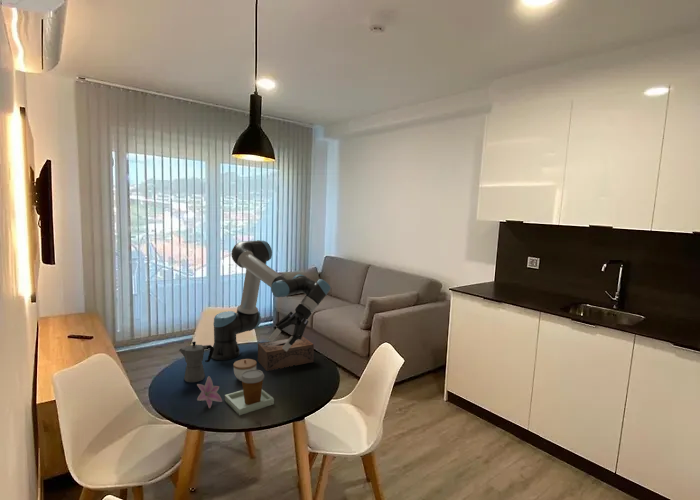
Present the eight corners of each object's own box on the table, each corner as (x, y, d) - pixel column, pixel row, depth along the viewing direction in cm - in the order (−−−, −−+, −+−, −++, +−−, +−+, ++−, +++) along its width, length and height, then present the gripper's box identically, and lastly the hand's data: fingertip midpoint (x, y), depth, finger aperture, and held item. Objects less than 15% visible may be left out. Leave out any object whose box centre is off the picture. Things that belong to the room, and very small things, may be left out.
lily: (192, 415, 156) (202, 396, 154) (185, 393, 164) (195, 375, 162) (219, 414, 164) (229, 396, 162) (211, 393, 172) (221, 376, 170)
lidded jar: (228, 380, 185) (228, 361, 184) (244, 372, 195) (244, 354, 194) (246, 385, 180) (245, 365, 179) (261, 376, 190) (261, 358, 189)
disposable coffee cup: (249, 409, 156) (249, 380, 155) (236, 401, 162) (235, 374, 161) (269, 401, 163) (269, 373, 162) (255, 394, 170) (255, 367, 168)
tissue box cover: (302, 353, 222) (302, 336, 221) (313, 362, 210) (313, 344, 209) (257, 361, 209) (257, 343, 208) (266, 371, 197) (266, 352, 196)
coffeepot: (178, 384, 180) (178, 346, 178) (180, 376, 189) (179, 339, 187) (214, 380, 185) (213, 343, 183) (214, 372, 194) (213, 336, 192)
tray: (224, 400, 165) (224, 395, 165) (257, 391, 175) (257, 385, 175) (239, 415, 154) (239, 409, 154) (273, 404, 163) (273, 398, 163)
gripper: (325, 319, 177) (295, 358, 170) (297, 306, 197) (269, 341, 189) (315, 309, 173) (285, 349, 166) (288, 297, 193) (259, 332, 185)
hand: (276, 345), depth 178 cm, fingers open, 13 cm apart
